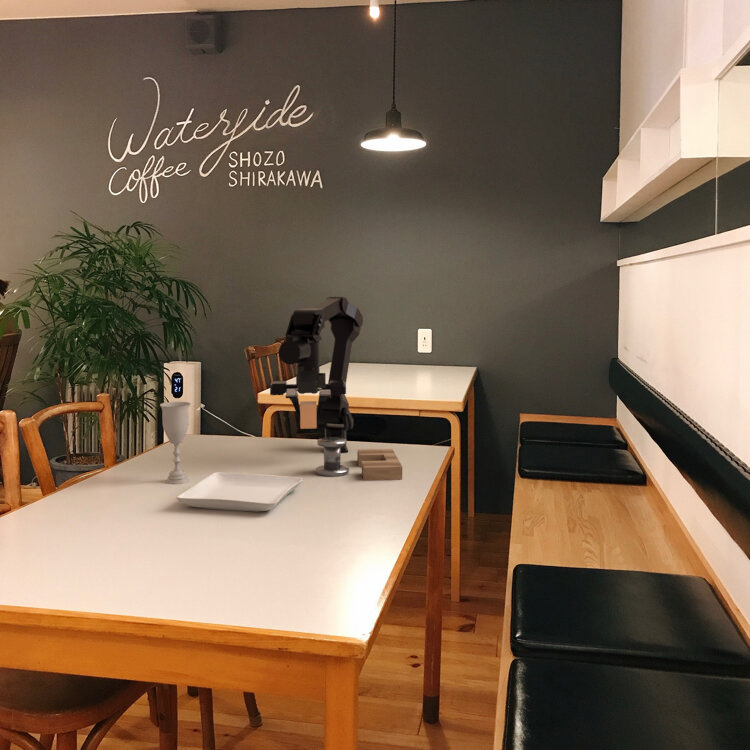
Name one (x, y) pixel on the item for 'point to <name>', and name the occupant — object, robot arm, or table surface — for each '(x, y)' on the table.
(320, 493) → the table surface
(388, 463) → the notched board
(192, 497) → the salad plate
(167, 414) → the chalice
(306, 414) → the wooden block
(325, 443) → the bobbin
